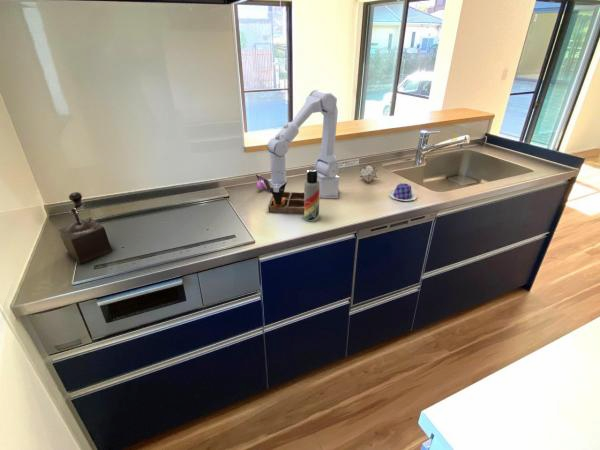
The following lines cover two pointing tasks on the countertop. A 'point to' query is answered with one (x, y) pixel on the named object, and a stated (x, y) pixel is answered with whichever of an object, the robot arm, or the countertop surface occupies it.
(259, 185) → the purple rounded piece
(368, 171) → the grey spiky ball
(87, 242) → the brown coffee grinder
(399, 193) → the pudding
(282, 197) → the token
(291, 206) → the grid
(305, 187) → the lotion bottle
